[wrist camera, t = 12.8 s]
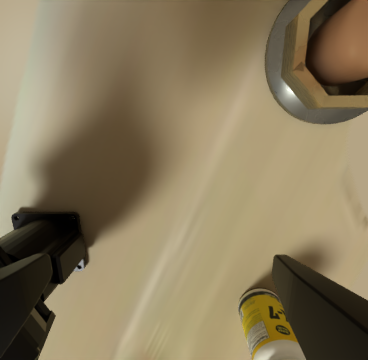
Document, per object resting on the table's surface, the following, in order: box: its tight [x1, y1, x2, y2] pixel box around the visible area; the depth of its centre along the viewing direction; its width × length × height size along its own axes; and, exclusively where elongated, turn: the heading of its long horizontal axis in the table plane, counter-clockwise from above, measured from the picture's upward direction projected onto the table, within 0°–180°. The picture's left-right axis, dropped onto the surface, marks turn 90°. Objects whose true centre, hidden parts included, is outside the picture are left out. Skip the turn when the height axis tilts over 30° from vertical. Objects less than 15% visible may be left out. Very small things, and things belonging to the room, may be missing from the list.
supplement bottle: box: [238, 289, 306, 360], centre depth 19 cm, size 5×5×8 cm
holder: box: [265, 0, 368, 124], centre depth 16 cm, size 11×11×3 cm
